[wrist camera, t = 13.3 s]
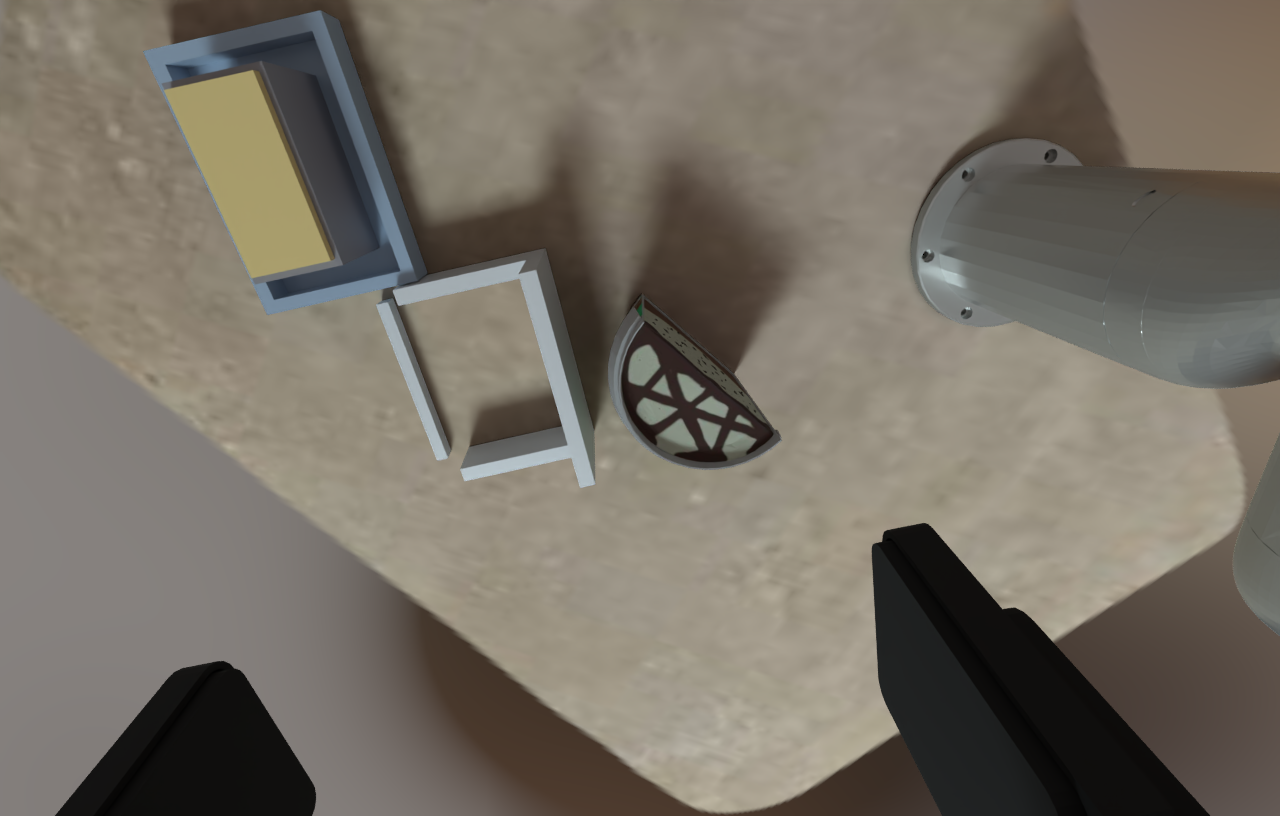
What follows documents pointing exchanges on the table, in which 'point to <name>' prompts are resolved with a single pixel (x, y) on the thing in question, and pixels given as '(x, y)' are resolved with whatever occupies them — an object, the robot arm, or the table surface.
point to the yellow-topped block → (274, 168)
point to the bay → (557, 357)
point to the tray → (326, 54)
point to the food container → (682, 395)
